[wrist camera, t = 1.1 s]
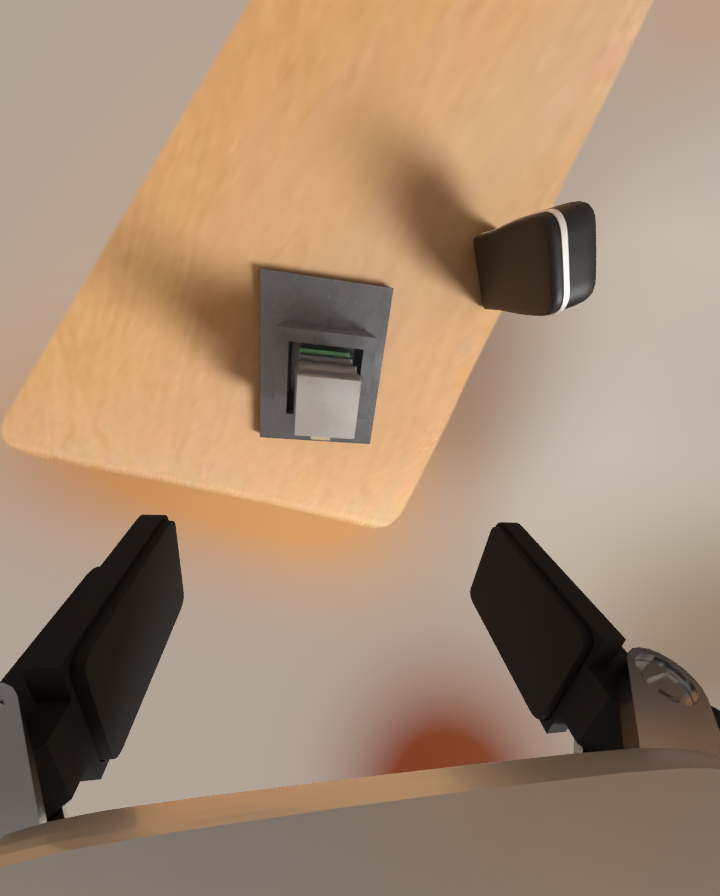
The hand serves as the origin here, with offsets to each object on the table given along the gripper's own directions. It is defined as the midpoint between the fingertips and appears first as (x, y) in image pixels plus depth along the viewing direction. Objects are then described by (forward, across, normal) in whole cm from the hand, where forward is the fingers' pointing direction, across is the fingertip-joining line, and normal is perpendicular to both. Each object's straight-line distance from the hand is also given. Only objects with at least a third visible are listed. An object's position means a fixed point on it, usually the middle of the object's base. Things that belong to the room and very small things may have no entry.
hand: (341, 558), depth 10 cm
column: (+26, 0, -1) cm, 26 cm away
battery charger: (+27, -16, -12) cm, 34 cm away
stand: (+27, 0, -1) cm, 27 cm away
